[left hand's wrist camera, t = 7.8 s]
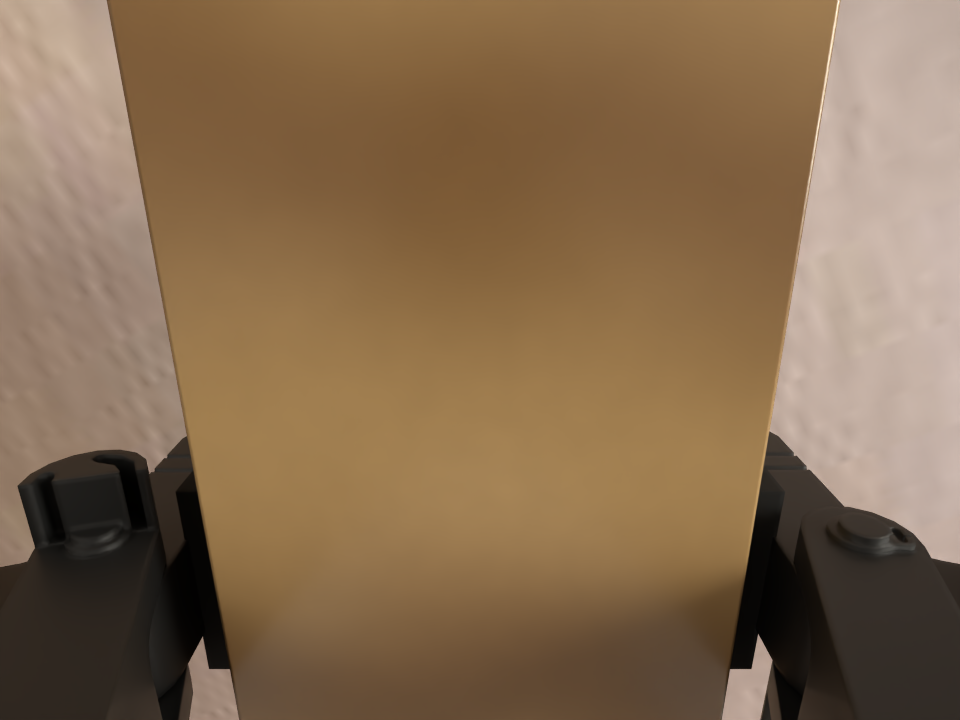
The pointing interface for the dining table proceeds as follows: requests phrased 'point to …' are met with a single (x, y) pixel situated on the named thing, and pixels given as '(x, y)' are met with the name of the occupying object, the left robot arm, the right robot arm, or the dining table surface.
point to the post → (476, 335)
